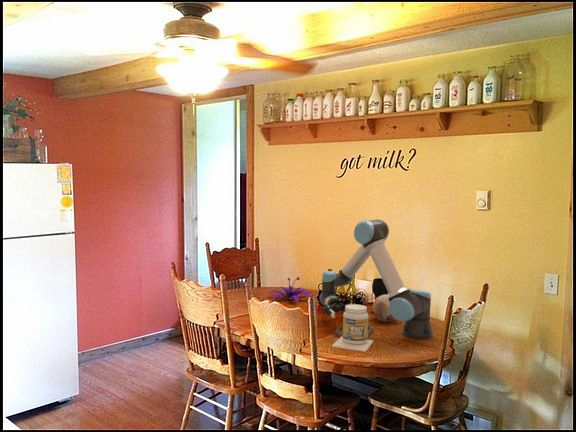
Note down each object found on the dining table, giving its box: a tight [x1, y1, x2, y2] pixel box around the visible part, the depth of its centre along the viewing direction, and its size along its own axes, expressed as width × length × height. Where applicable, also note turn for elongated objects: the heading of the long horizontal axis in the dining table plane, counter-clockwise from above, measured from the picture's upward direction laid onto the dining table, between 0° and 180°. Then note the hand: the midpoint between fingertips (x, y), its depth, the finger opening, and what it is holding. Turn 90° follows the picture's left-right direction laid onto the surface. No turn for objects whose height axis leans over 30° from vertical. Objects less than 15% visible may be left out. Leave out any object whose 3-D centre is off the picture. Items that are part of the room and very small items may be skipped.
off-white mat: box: [331, 336, 374, 353], centre depth 249 cm, size 16×16×1 cm
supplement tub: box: [342, 303, 369, 344], centre depth 251 cm, size 12×12×17 cm
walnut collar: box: [334, 323, 374, 338], centre depth 266 cm, size 16×16×2 cm
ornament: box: [372, 294, 396, 323], centre depth 291 cm, size 15×15×15 cm
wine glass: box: [370, 277, 389, 315], centre depth 309 cm, size 10×10×20 cm
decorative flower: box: [267, 276, 313, 303], centre depth 337 cm, size 28×31×15 cm
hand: (347, 314), depth 258 cm, fingers open, 13 cm apart
